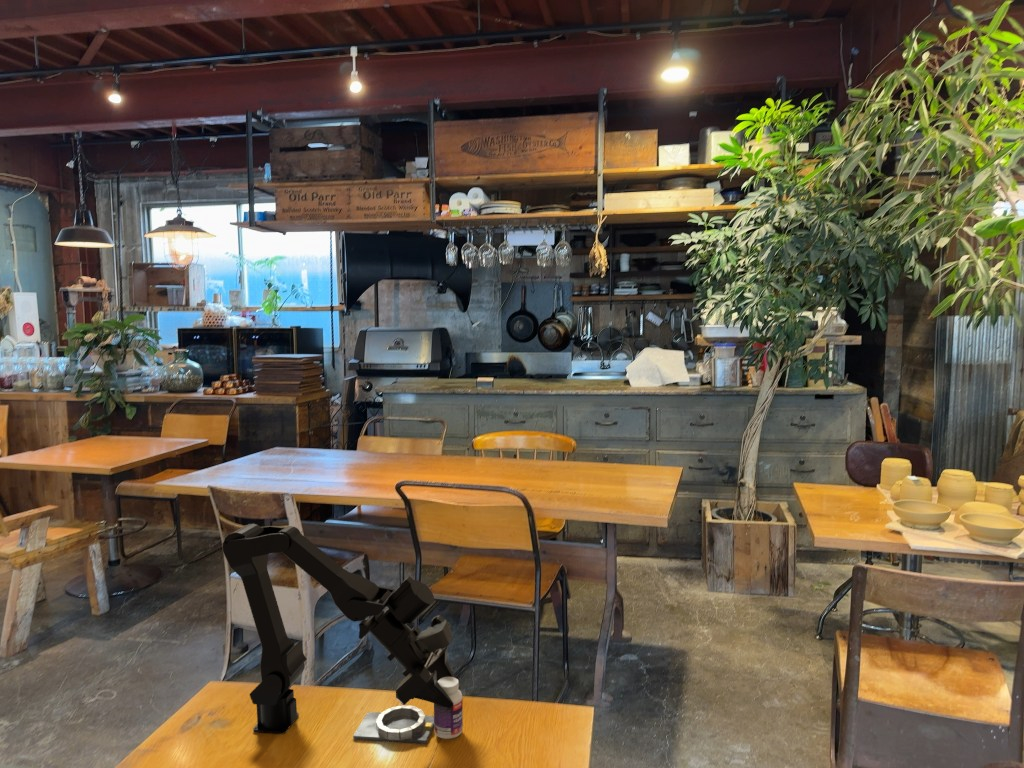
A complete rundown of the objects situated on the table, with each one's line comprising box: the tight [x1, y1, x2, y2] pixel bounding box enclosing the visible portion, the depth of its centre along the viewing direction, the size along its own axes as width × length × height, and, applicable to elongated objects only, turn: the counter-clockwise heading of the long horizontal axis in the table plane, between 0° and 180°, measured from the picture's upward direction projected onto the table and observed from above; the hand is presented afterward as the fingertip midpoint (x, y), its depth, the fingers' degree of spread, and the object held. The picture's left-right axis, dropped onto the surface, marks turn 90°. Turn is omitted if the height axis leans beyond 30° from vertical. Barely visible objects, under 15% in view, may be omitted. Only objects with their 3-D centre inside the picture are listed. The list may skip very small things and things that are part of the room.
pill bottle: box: [433, 677, 464, 740], centre depth 128 cm, size 5×5×10 cm
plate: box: [352, 711, 434, 745], centre depth 130 cm, size 14×8×1 cm, turn 82°
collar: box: [376, 704, 432, 740], centre depth 130 cm, size 10×9×2 cm
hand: (455, 697), depth 128 cm, fingers closed on pill bottle, 5 cm apart
